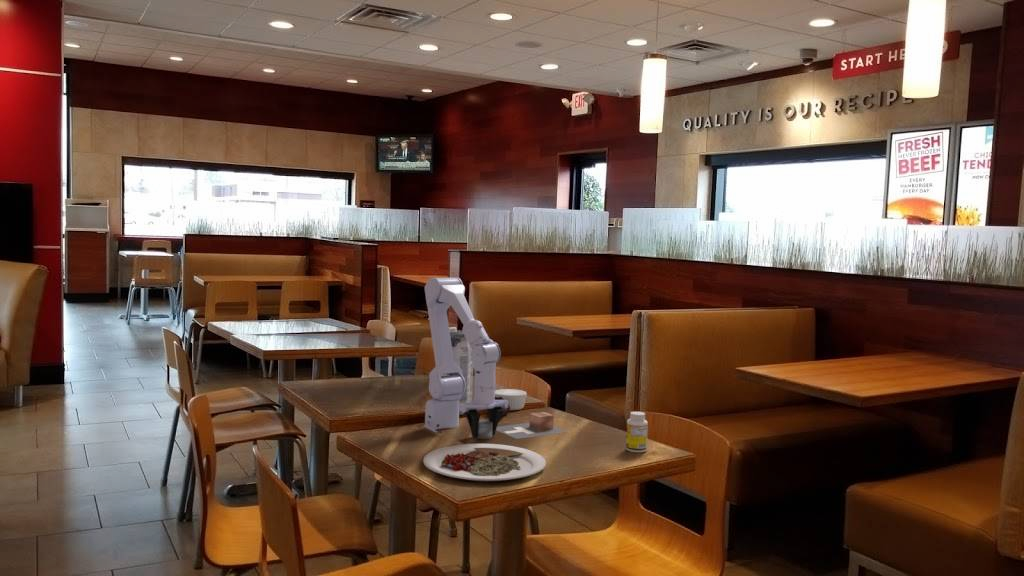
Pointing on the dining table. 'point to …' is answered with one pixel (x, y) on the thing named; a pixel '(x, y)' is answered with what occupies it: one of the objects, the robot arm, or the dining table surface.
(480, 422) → the slate cylinder
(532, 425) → the terracotta block
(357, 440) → the dining table surface
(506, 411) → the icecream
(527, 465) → the plated food
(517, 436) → the board
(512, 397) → the ramekin
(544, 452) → the dining table surface
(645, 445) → the supplement bottle
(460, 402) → the juice carton
